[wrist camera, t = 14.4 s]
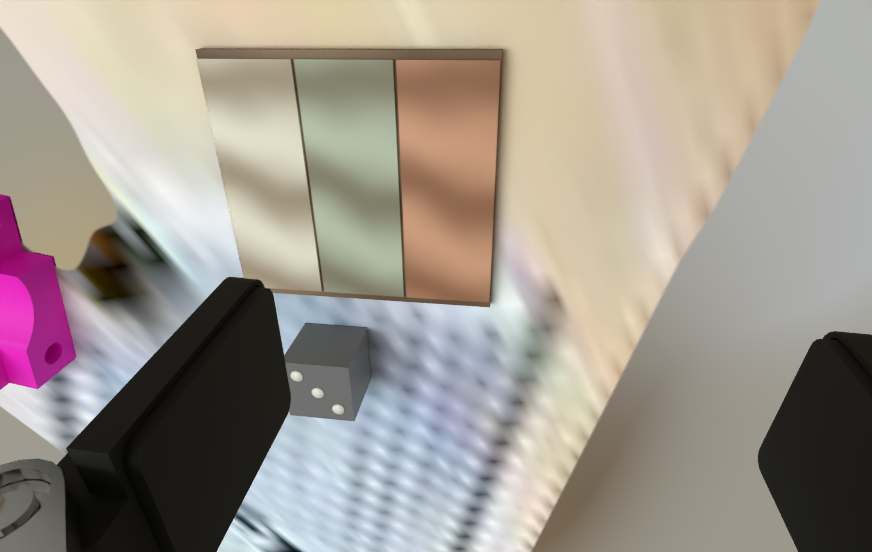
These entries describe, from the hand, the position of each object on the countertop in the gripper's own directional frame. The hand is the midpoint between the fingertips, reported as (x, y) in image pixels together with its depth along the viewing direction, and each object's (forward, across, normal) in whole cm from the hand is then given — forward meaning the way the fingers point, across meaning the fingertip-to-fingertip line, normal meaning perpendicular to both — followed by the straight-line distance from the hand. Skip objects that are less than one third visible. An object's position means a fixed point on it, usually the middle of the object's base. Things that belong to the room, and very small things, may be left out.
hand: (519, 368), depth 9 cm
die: (+24, +12, +21) cm, 34 cm away
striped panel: (+25, +10, +7) cm, 27 cm away
